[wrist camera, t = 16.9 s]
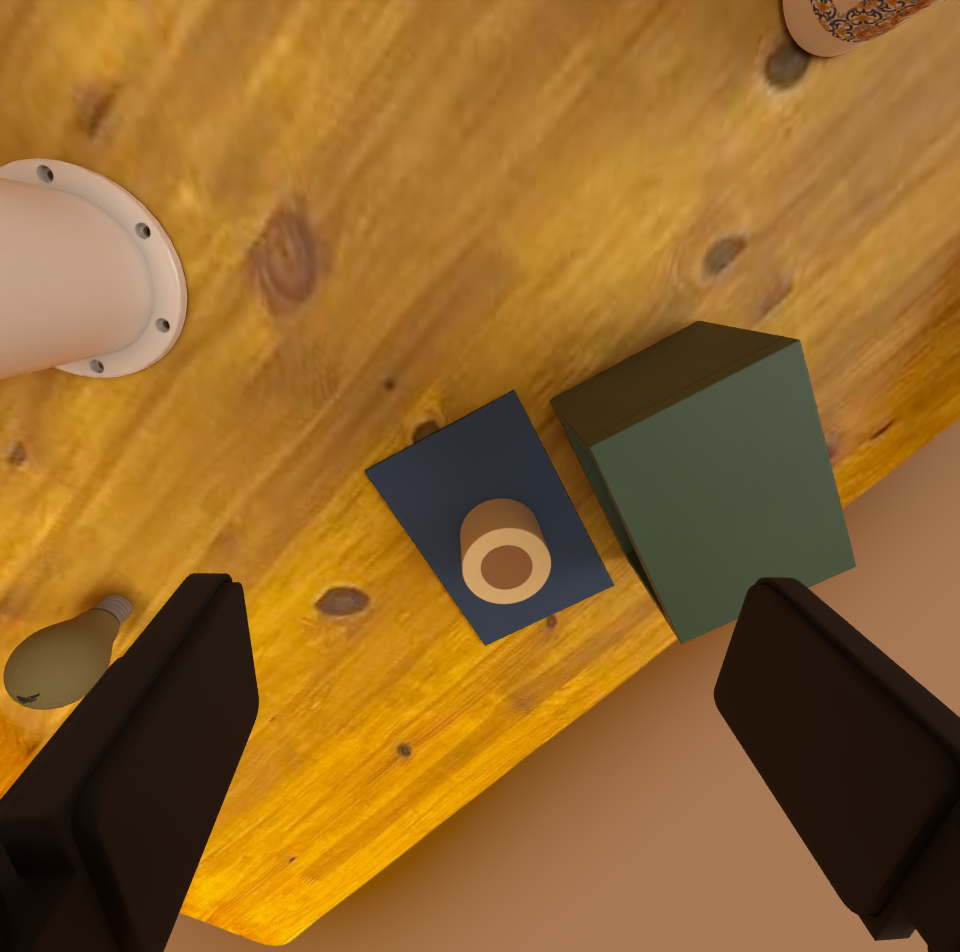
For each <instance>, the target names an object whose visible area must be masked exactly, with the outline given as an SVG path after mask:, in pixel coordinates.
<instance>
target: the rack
mask: <svg viewBox="0 0 960 952" xmlns="http://www.w3.org/2000/svg"><path fill="white" fill-rule="evenodd" d="M550 402H551V404H552V406H553V409H554V411H555V413H556V415H557V417H558V419H559V421H560V423H561V425H562V427H563V429H564V431H565V433H566V435H567V437H568V439H569V441H570V444H571V446H572V448H573V450H574V452H575V454H576V456H577V458H578V460H579V462H580V464H581V466H582V468H583V470H584V472H585V474H586V477H587V479H588V481H589V483H590V485H591V487H592V489H593V491H594V493H595V495H596V497H597V499H598V501H599V503H600V505H601V507H602V509H603V512H604V514H605V516H606V518H607V520H608V522H609V524H610V526H611V528H612V530H613V532H614V534H615V536H616V538H617V540H618V542H619V544H620V547H621V549H622V551H623V553H624V555H625V557H626V559H627V560H628V562H629V563H630V565H631V566H632V568H633V569H634V571H635V573H636V574H637V576H638V577H639V579H640V580H641V582H642V584H643V585H644V587H645V588H646V590H647V591H648V593H649V594H650V596H651V598H652V599H653V601H654V602H655V604H656V605H657V607H658V609H659V610H660V612H661V613H662V615H663V616H664V618H665V620H666V621H667V623H668V624H669V626H670V627H671V629H672V631H673V632H674V634H675V635H676V637H677V638H678V640H679V641H680V643H684V642H686V641H689V640H691V639H694V638H696V637H698V636H700V635H703V634H705V633H707V632H709V631H712V630H714V629H716V628H718V627H721V626H723V625H725V624H727V623H730V622H732V621H734V620H736V619H738V617H739V614H740V611H741V608H742V605H743V602H744V599H745V596H746V594H747V591H748V589H749V588H750V587H751V586H752V585H755V583H756V581H757V580H759V579H760V578H763V577H790V578H795V579H797V580H798V581H800V582H801V583H802V584H803V585H805V586H806V587H807V588H808V587H811V586H813V585H815V584H817V583H820V582H822V581H824V580H827V579H829V578H831V577H833V576H836V575H838V574H840V573H842V572H845V571H847V570H849V569H851V568H854V567H855V566H856V563H855V559H854V555H853V551H852V547H851V543H850V539H849V535H848V531H847V527H846V523H845V519H844V515H843V511H842V507H841V503H840V499H839V495H838V491H837V487H836V483H835V479H834V475H833V471H832V467H831V462H830V458H829V454H828V450H827V446H826V442H825V438H824V434H823V430H822V426H821V422H820V418H819V414H818V410H817V406H816V402H815V398H814V394H813V390H812V386H811V382H810V378H809V374H808V370H807V366H806V362H805V358H804V354H803V350H802V346H801V342H800V340H798V339H793V338H788V337H783V336H778V335H772V334H767V333H762V332H756V331H751V330H746V329H740V328H735V327H729V326H724V325H719V324H713V323H708V322H703V321H697V322H696V323H694V324H692V325H690V326H688V327H686V328H684V329H682V330H680V331H679V332H677V333H675V334H673V335H671V336H669V337H667V338H665V339H664V340H662V341H660V342H658V343H656V344H654V345H652V346H650V347H649V348H647V349H645V350H643V351H641V352H639V353H637V354H635V355H633V356H632V357H630V358H628V359H626V360H624V361H622V362H620V363H618V364H617V365H615V366H613V367H611V368H609V369H607V370H605V371H603V372H602V373H600V374H598V375H596V376H594V377H592V378H590V379H588V380H586V381H585V382H583V383H581V384H579V385H577V386H575V387H573V388H571V389H570V390H568V391H566V392H564V393H562V394H560V395H558V396H556V397H555V398H553V399H551V400H550Z"/></svg>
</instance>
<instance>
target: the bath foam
mask: <svg viewBox="0 0 960 952" xmlns="http://www.w3.org/2000/svg"><path fill="white" fill-rule="evenodd" d="M943 1H945V0H783V12H784V17H785V21H786V25H787V28H788V30H789V32H790V34H791V36H792V37H793V39H794V40H795V42H796V43H797V44H798V45H799V46H800V47H801V48H802V49H804V50H805V51H807V52H809V53H811V54H813V55H817V56H822V57H832V56H838V55H841V54H844V53H847V52H849V51H852V50H854V49H856V48H858V47H860V46H861V45H863V44H865V43H867V42H869V41H871V40H872V39H874V38H876V37H878V36H880V35H882V34H884V33H886V32H888V31H890V30H892V29H893V28H895V27H897V26H899V25H901V24H903V23H904V22H906V21H908V20H910V19H912V18H914V17H915V16H917V15H919V14H921V13H923V12H925V11H926V10H928V9H930V8H932V7H934V6H936V5H937V4H939V3H941V2H943Z"/></svg>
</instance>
